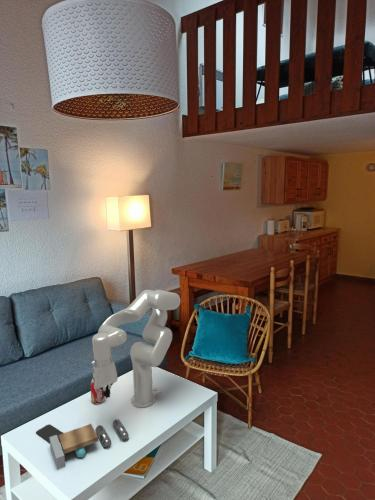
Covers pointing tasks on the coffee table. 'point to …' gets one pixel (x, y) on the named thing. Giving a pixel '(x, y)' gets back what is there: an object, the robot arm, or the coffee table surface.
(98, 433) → the roller
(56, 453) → the block
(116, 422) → the roller
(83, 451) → the roller
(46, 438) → the phone
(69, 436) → the slab
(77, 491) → the coffee table surface
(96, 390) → the soda can
